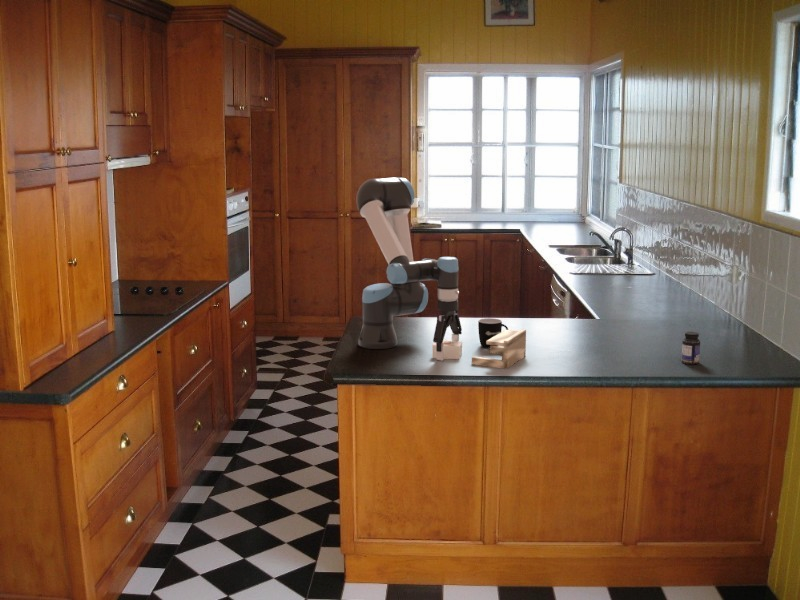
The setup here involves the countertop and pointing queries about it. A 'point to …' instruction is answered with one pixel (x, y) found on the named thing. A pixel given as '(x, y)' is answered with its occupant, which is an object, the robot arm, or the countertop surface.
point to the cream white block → (449, 349)
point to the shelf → (505, 349)
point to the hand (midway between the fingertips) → (447, 355)
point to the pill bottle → (691, 348)
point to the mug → (489, 330)
